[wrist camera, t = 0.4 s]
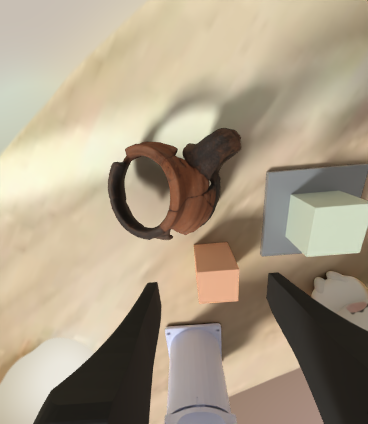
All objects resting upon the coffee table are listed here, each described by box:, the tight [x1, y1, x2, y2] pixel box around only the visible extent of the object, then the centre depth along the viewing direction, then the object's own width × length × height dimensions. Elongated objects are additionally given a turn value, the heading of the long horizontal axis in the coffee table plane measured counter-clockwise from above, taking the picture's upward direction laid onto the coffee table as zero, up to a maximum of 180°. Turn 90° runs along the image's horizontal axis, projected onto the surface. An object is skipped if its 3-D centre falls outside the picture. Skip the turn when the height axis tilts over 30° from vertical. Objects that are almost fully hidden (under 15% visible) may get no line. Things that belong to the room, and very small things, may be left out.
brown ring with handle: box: [108, 128, 241, 240], centre depth 17 cm, size 12×9×8 cm
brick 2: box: [285, 191, 368, 257], centre depth 19 cm, size 5×5×4 cm
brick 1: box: [194, 242, 239, 304], centre depth 21 cm, size 4×4×5 cm
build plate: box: [260, 163, 368, 256], centre depth 21 cm, size 10×10×1 cm
